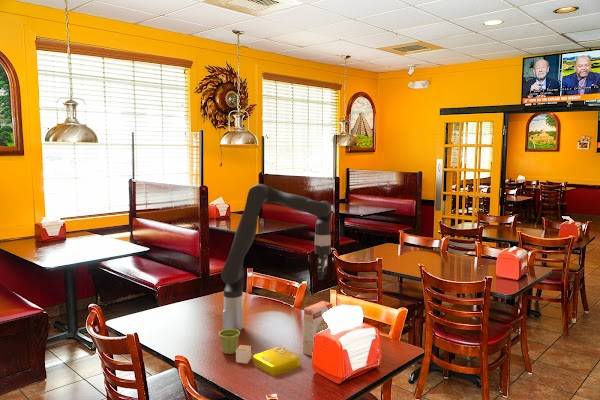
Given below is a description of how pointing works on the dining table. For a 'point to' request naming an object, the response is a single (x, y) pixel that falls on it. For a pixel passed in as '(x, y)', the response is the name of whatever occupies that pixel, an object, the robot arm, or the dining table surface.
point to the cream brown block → (243, 354)
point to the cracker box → (313, 324)
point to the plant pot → (229, 340)
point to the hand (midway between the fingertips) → (322, 277)
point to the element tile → (276, 361)
